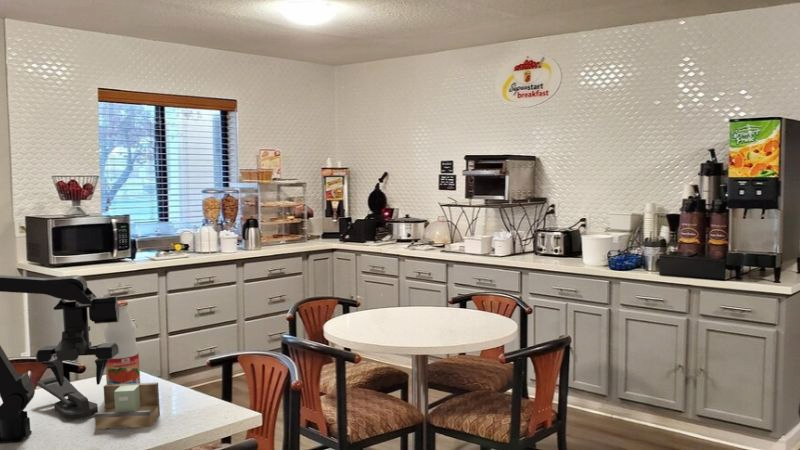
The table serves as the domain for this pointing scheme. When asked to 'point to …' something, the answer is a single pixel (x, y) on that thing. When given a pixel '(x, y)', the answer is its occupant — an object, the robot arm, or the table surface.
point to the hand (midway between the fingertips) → (80, 385)
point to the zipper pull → (69, 400)
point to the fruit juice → (123, 349)
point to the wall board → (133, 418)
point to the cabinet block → (127, 398)
